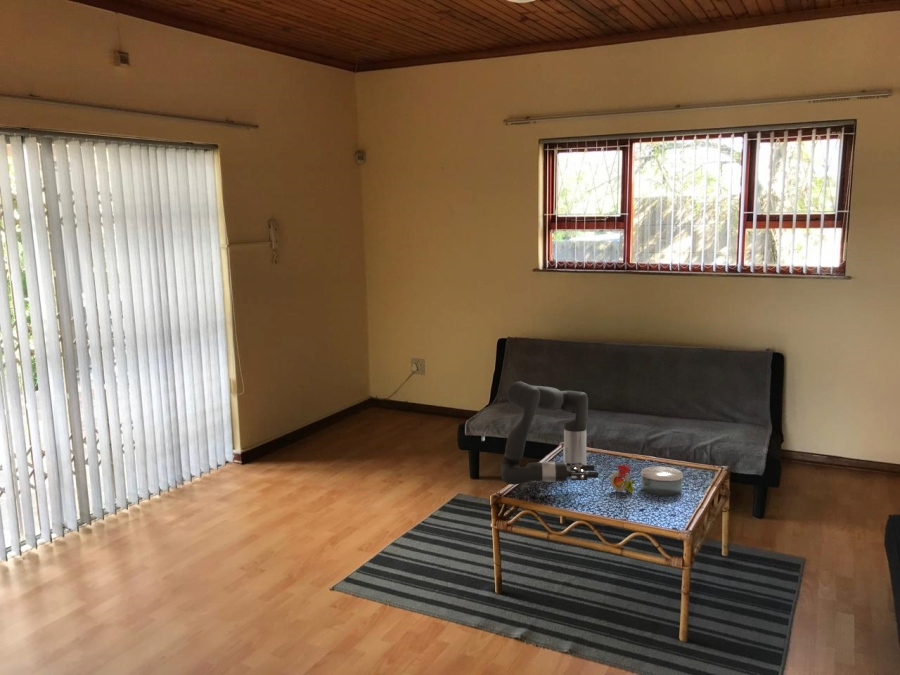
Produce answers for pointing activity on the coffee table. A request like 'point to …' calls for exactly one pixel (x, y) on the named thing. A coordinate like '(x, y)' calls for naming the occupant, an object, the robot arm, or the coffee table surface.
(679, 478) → the biscuit tin
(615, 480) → the bird rattle
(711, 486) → the coffee table surface
